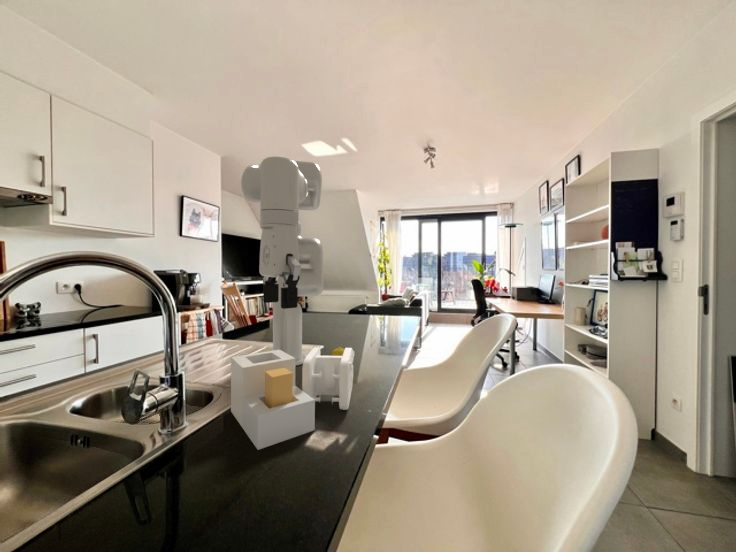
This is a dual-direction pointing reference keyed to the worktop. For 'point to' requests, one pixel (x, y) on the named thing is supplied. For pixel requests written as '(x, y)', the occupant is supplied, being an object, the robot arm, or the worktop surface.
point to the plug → (278, 387)
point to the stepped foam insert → (250, 400)
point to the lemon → (338, 352)
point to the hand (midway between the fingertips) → (279, 304)
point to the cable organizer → (328, 376)
